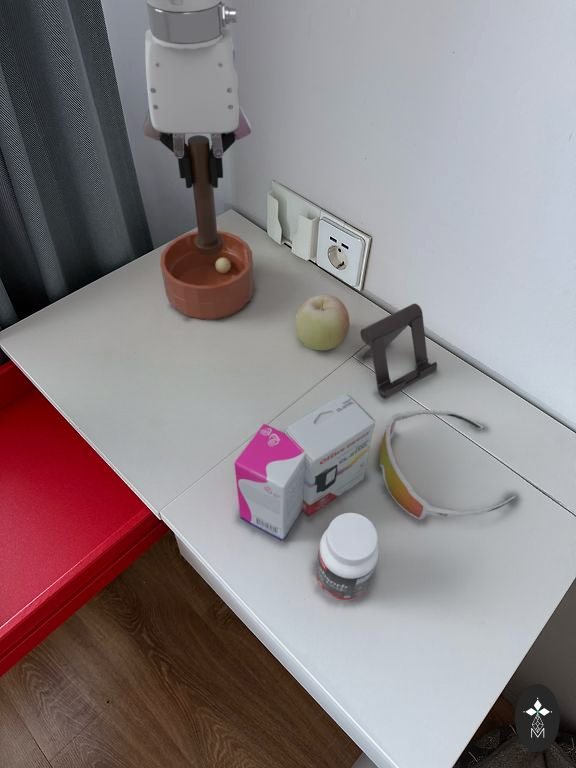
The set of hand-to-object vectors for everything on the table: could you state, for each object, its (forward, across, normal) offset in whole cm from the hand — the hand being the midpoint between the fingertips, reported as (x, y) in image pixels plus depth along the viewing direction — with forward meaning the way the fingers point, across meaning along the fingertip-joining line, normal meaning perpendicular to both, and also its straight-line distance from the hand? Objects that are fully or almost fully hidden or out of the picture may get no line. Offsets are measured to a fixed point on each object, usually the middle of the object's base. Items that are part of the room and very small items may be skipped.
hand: (202, 181), depth 73 cm
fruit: (+19, -16, +11) cm, 27 cm away
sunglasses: (+19, -28, +33) cm, 47 cm away
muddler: (+10, 0, 0) cm, 10 cm away
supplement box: (+19, -8, +37) cm, 42 cm away
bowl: (+19, 0, 0) cm, 19 cm away
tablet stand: (+19, -25, +17) cm, 35 cm away
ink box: (+19, -14, +34) cm, 41 cm away
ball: (+17, -2, -4) cm, 17 cm away
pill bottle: (+19, -15, +45) cm, 51 cm away
